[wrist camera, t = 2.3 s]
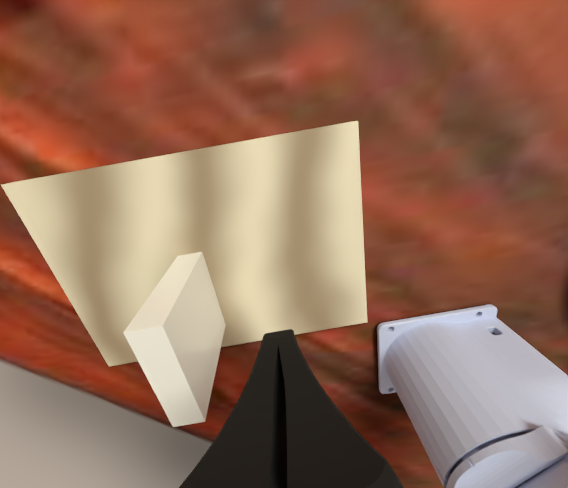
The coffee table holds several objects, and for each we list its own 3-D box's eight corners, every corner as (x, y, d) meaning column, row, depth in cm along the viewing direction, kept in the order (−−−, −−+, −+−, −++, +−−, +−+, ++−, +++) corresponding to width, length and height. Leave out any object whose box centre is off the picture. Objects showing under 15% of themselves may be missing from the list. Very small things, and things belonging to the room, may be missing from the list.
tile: (202, 251, 17) (162, 326, 10) (225, 324, 19) (205, 421, 13) (177, 256, 17) (122, 332, 11) (203, 328, 19) (172, 427, 13)
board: (352, 121, 15) (358, 120, 14) (362, 313, 21) (367, 322, 20) (16, 181, 16) (0, 184, 15) (115, 356, 21) (108, 366, 20)
